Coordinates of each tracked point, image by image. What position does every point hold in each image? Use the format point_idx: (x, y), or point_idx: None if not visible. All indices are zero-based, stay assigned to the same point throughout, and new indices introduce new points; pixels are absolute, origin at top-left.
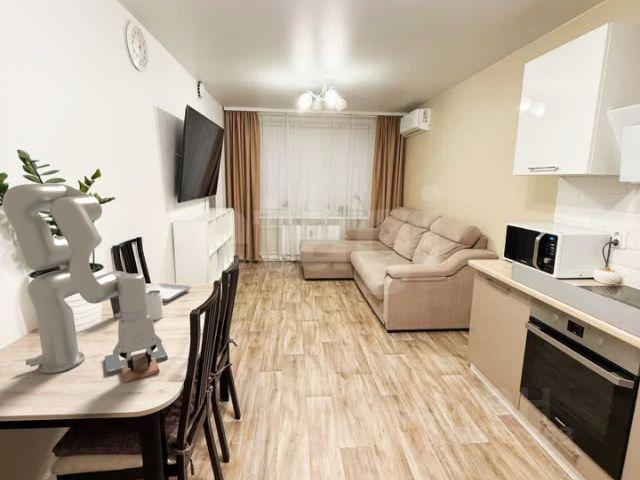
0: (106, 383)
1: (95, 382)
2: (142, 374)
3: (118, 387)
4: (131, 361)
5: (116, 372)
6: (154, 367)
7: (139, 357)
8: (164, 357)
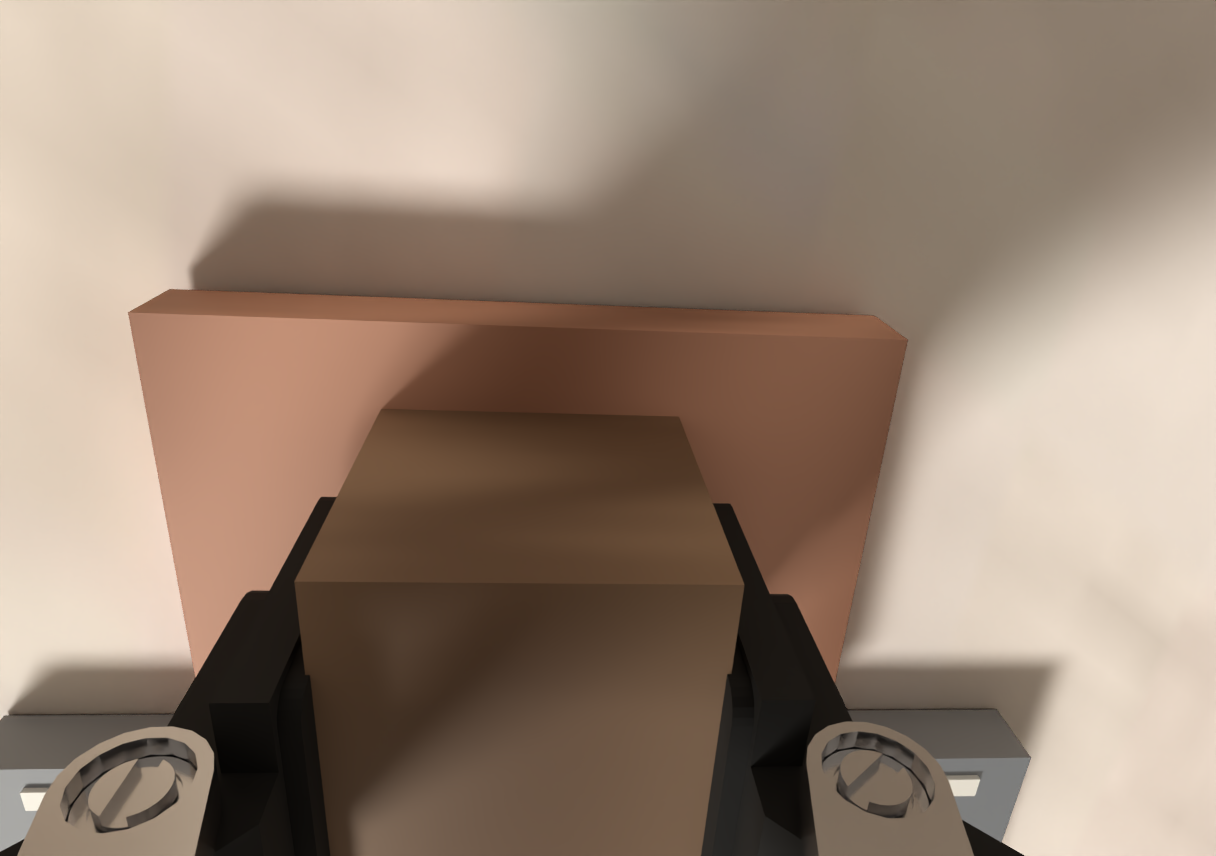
0: (1091, 494)
1: (1191, 617)
2: (526, 320)
3: (997, 222)
4: (766, 665)
5: (873, 718)
6: (239, 444)
7: (515, 764)
8: (36, 754)
